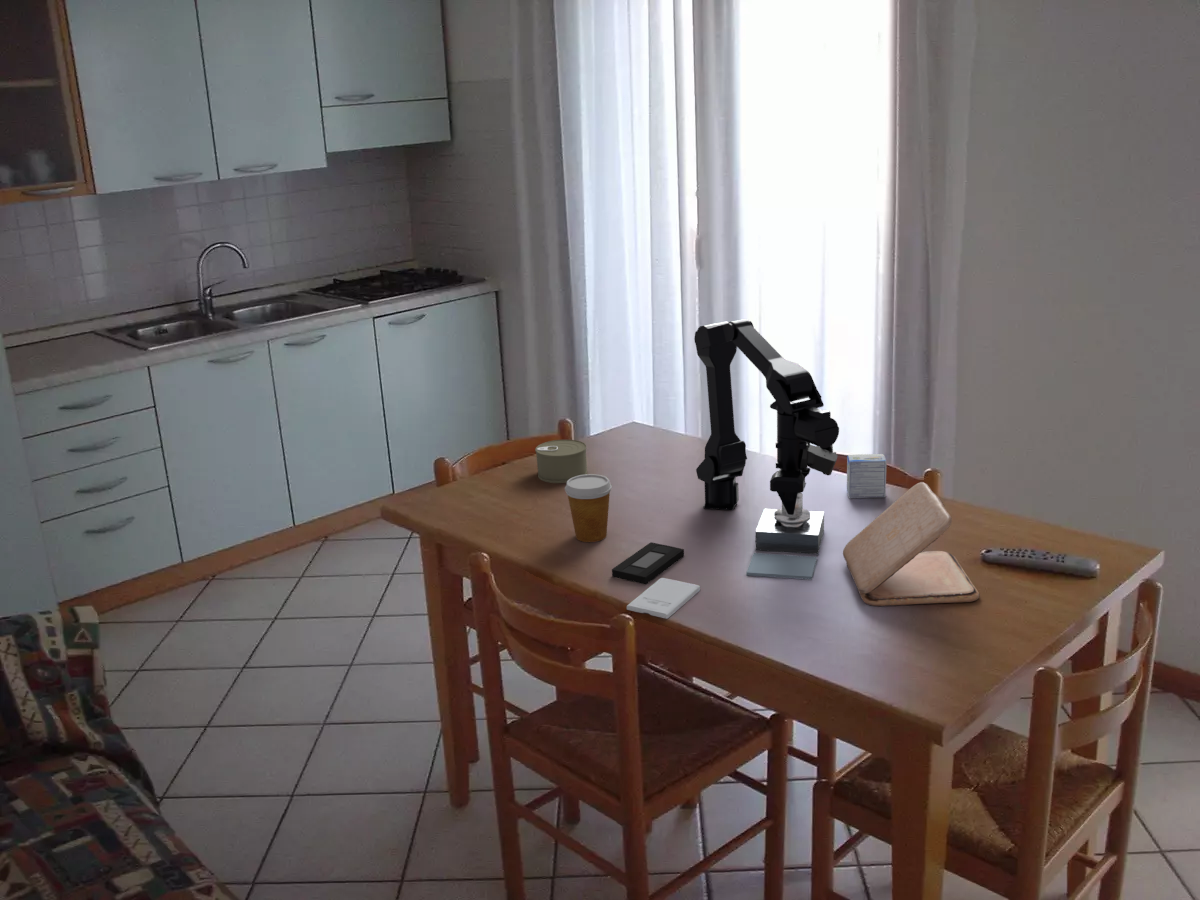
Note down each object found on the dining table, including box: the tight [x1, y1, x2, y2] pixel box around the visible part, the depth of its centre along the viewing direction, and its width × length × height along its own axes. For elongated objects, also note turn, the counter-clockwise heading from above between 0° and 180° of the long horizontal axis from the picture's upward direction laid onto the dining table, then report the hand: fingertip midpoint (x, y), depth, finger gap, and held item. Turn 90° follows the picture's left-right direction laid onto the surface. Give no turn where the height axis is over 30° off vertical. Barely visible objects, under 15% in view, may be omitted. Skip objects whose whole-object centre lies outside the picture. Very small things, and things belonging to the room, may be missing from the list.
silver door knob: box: [774, 492, 810, 528], centre depth 225 cm, size 7×7×8 cm
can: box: [534, 439, 588, 484], centre depth 270 cm, size 12×12×7 cm
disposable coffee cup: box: [564, 473, 613, 543], centre depth 232 cm, size 10×10×12 cm
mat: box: [746, 552, 818, 581], centre depth 215 cm, size 12×9×1 cm
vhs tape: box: [611, 542, 685, 585], centre depth 219 cm, size 8×14×2 cm, turn 146°
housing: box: [755, 508, 825, 555], centre depth 226 cm, size 12×12×4 cm
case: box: [842, 481, 980, 607], centre depth 204 cm, size 20×21×16 cm
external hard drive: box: [626, 577, 701, 620], centre depth 205 cm, size 2×8×12 cm
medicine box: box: [846, 453, 888, 499], centre depth 246 cm, size 8×4×9 cm, turn 84°
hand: (792, 510), depth 225 cm, fingers closed on silver door knob, 4 cm apart
